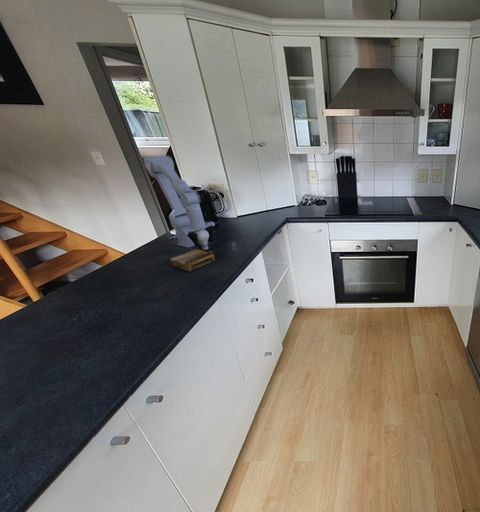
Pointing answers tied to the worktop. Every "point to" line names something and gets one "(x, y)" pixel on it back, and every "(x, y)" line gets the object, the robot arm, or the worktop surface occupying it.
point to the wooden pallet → (193, 259)
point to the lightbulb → (203, 238)
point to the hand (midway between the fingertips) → (203, 243)
